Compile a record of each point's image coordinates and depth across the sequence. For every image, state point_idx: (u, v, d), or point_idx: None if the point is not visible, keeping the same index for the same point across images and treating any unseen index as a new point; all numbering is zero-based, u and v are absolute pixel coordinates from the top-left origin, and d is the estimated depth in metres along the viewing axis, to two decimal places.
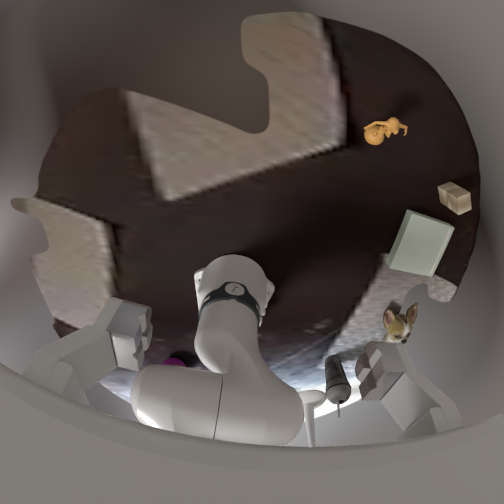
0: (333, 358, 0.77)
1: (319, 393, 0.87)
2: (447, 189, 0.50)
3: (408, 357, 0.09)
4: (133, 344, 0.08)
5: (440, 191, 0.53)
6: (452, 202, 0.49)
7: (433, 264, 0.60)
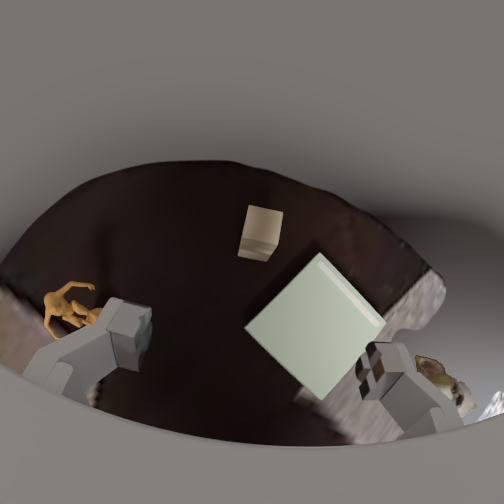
0: None
1: None
2: (240, 243, 0.37)
3: (408, 357, 0.09)
4: (133, 344, 0.08)
5: (245, 255, 0.38)
6: (256, 246, 0.34)
7: (365, 314, 0.36)
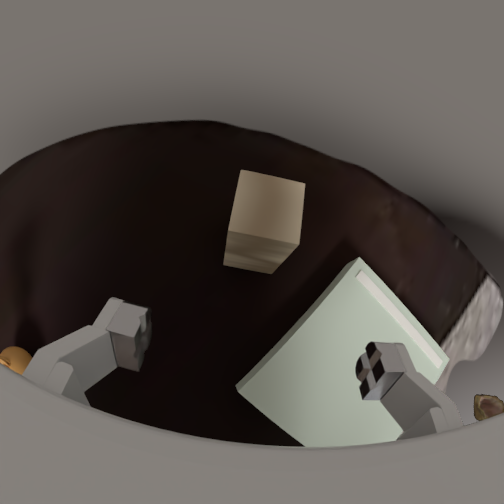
0: None
1: None
2: None
3: (408, 357, 0.09)
4: (133, 344, 0.08)
5: (235, 264, 0.22)
6: (255, 248, 0.18)
7: (424, 350, 0.21)
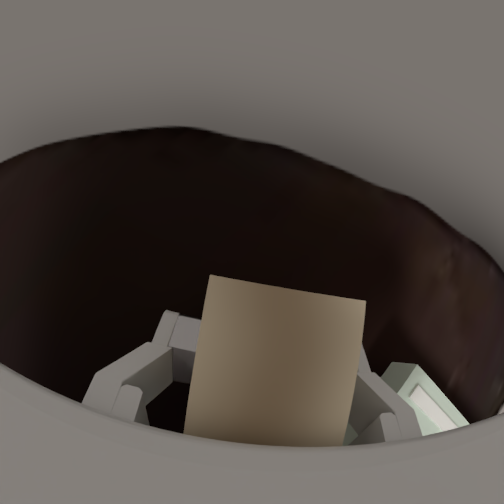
0: None
1: None
2: None
3: (363, 355, 0.09)
4: None
5: None
6: None
7: None
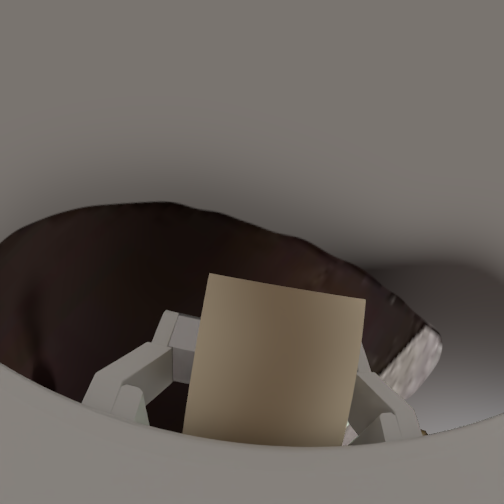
0: None
1: None
2: None
3: (363, 355, 0.09)
4: None
5: None
6: None
7: None
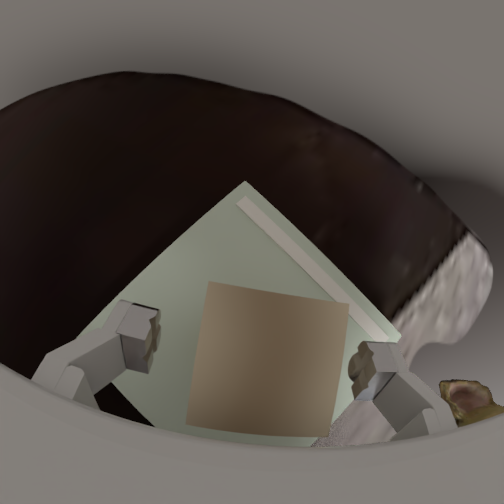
0: None
1: None
2: None
3: (401, 357, 0.09)
4: (144, 347, 0.08)
5: None
6: None
7: (354, 317, 0.16)
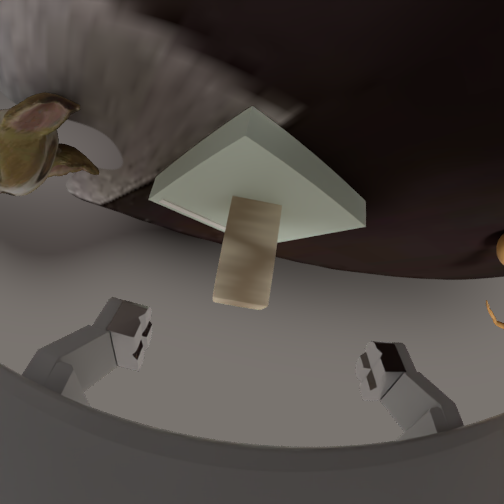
0: None
1: None
2: None
3: (408, 357, 0.09)
4: (133, 344, 0.08)
5: (268, 213, 0.22)
6: (247, 273, 0.21)
7: (186, 209, 0.26)
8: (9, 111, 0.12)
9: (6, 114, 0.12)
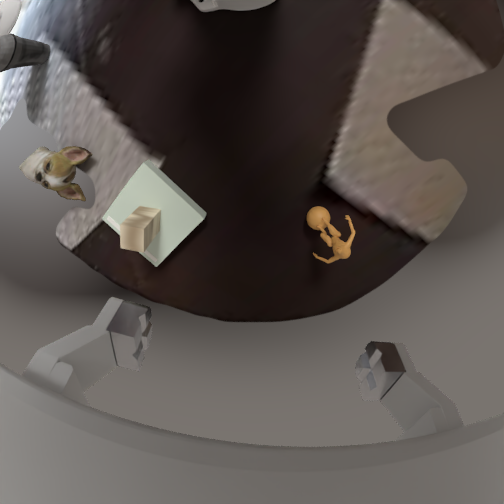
0: (45, 55, 0.32)
1: (4, 34, 0.27)
2: (154, 221, 0.44)
3: (408, 357, 0.09)
4: (133, 344, 0.08)
5: (153, 210, 0.46)
6: (138, 221, 0.41)
7: (119, 225, 0.48)
8: (66, 147, 0.40)
9: (64, 148, 0.40)
